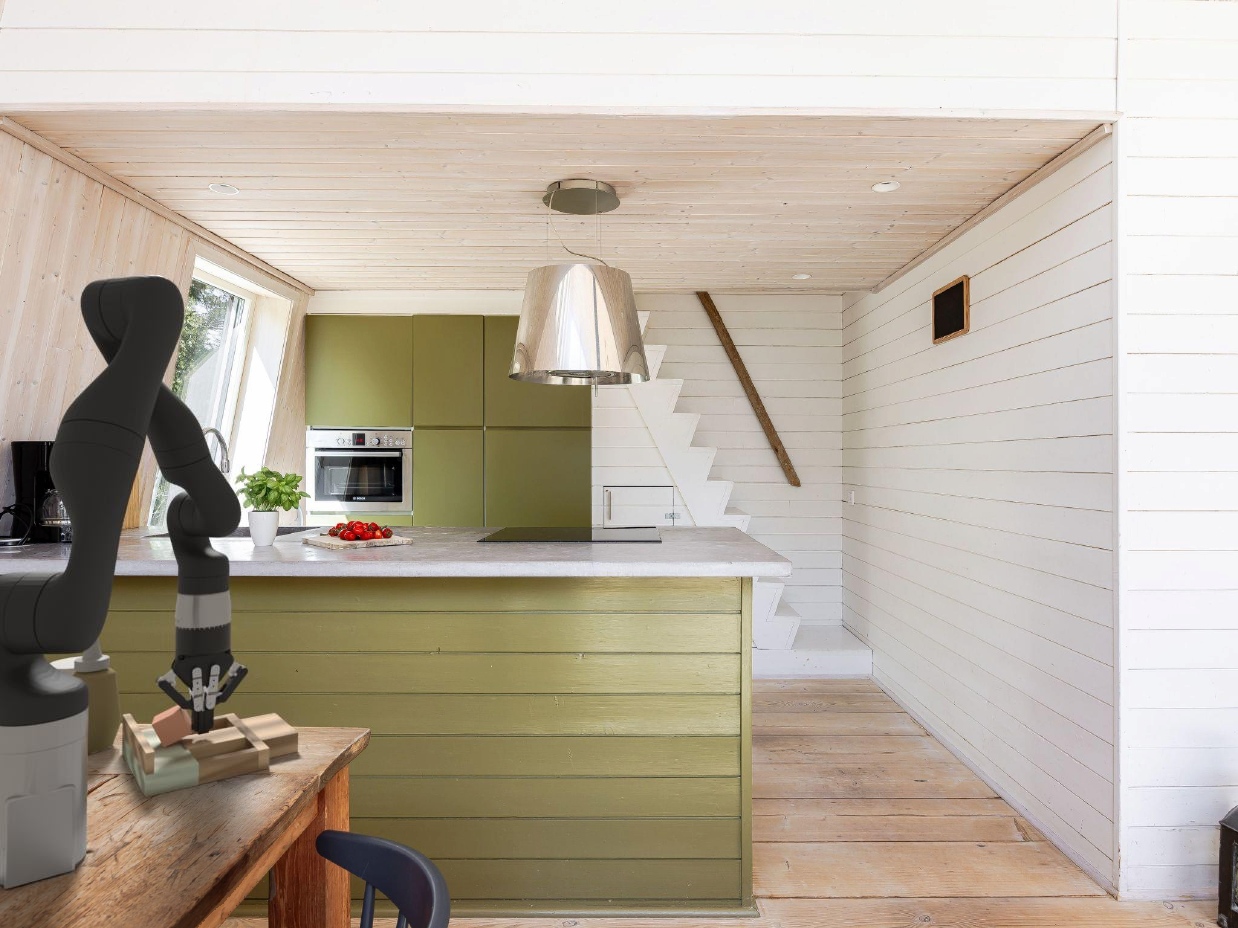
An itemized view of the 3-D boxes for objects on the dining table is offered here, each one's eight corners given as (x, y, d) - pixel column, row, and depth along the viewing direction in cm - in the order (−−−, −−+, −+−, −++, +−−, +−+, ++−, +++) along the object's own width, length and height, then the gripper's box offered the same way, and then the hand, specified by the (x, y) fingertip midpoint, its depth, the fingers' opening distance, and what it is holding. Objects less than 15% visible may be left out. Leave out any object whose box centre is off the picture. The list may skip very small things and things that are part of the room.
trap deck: (306, 759, 118) (307, 720, 118) (145, 797, 104) (146, 753, 104) (267, 723, 134) (267, 689, 134) (122, 752, 120) (122, 714, 120)
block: (192, 733, 116) (179, 710, 115) (163, 747, 114) (151, 724, 114) (193, 724, 119) (181, 702, 119) (166, 738, 118) (154, 716, 117)
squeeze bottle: (105, 735, 127) (107, 627, 126) (131, 745, 122) (133, 633, 122) (49, 751, 120) (51, 636, 120) (74, 762, 116) (76, 643, 115)
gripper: (158, 631, 111) (157, 750, 111) (256, 619, 119) (255, 729, 119) (149, 621, 116) (148, 735, 116) (243, 611, 125) (242, 716, 125)
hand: (202, 732), depth 118 cm, fingers closed
